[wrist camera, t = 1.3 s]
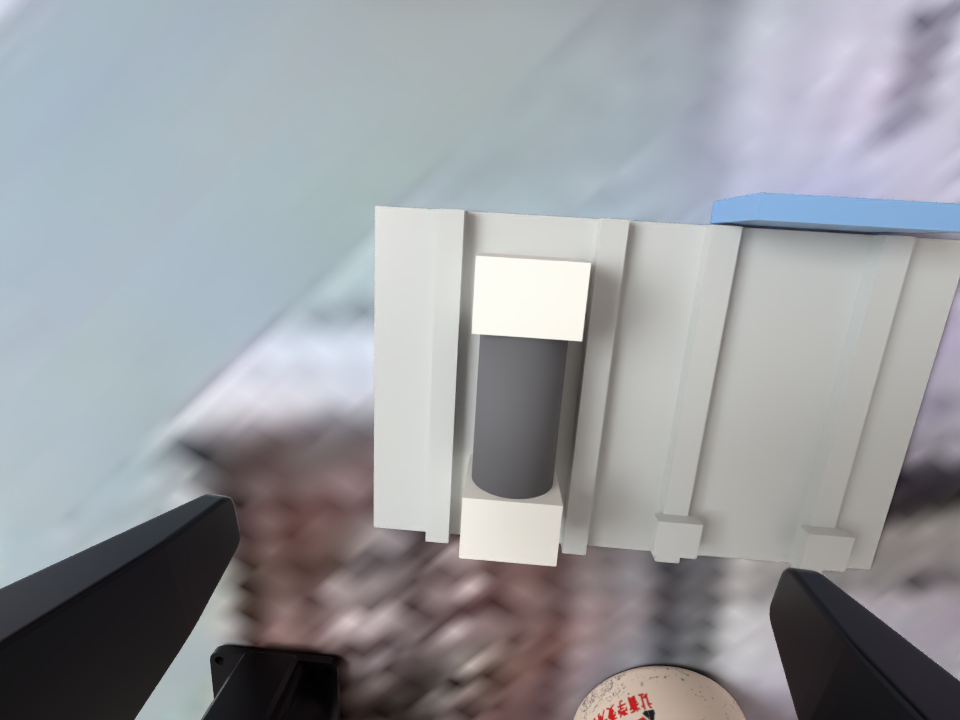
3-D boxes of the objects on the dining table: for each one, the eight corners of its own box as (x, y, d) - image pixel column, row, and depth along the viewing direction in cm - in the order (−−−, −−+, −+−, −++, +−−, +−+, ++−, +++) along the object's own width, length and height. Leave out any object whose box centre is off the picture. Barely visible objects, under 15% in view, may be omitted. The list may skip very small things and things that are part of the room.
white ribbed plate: (863, 563, 21) (928, 623, 18) (376, 522, 22) (353, 571, 19) (968, 215, 17) (1075, 210, 14) (378, 182, 18) (349, 169, 15)
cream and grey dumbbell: (548, 512, 21) (556, 566, 18) (466, 505, 21) (459, 557, 18) (575, 258, 18) (590, 263, 15) (482, 252, 18) (475, 255, 15)
